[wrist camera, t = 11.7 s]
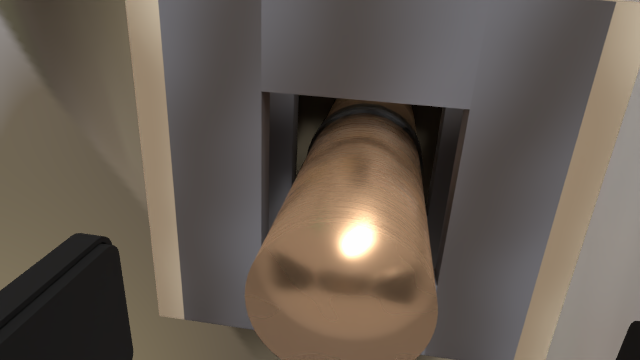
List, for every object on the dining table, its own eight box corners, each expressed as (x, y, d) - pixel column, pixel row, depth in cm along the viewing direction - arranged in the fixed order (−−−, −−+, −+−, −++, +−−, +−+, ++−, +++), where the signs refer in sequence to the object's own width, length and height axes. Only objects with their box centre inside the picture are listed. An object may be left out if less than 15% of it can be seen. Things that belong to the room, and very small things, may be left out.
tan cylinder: (422, 81, 21) (460, 232, 9) (410, 166, 23) (427, 398, 10) (330, 73, 22) (238, 206, 9) (325, 157, 23) (241, 369, 11)
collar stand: (553, -6, 19) (660, 4, 11) (494, 245, 24) (541, 372, 16) (224, -25, 21) (122, -28, 13) (231, 214, 26) (159, 315, 18)
